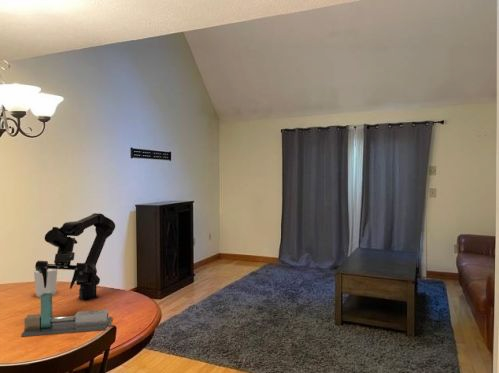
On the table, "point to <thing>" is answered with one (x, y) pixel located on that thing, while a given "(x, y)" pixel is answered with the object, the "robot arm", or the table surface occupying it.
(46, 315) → the sliding bolt with handle
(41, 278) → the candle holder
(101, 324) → the sleeve and socket
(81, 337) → the table surface
